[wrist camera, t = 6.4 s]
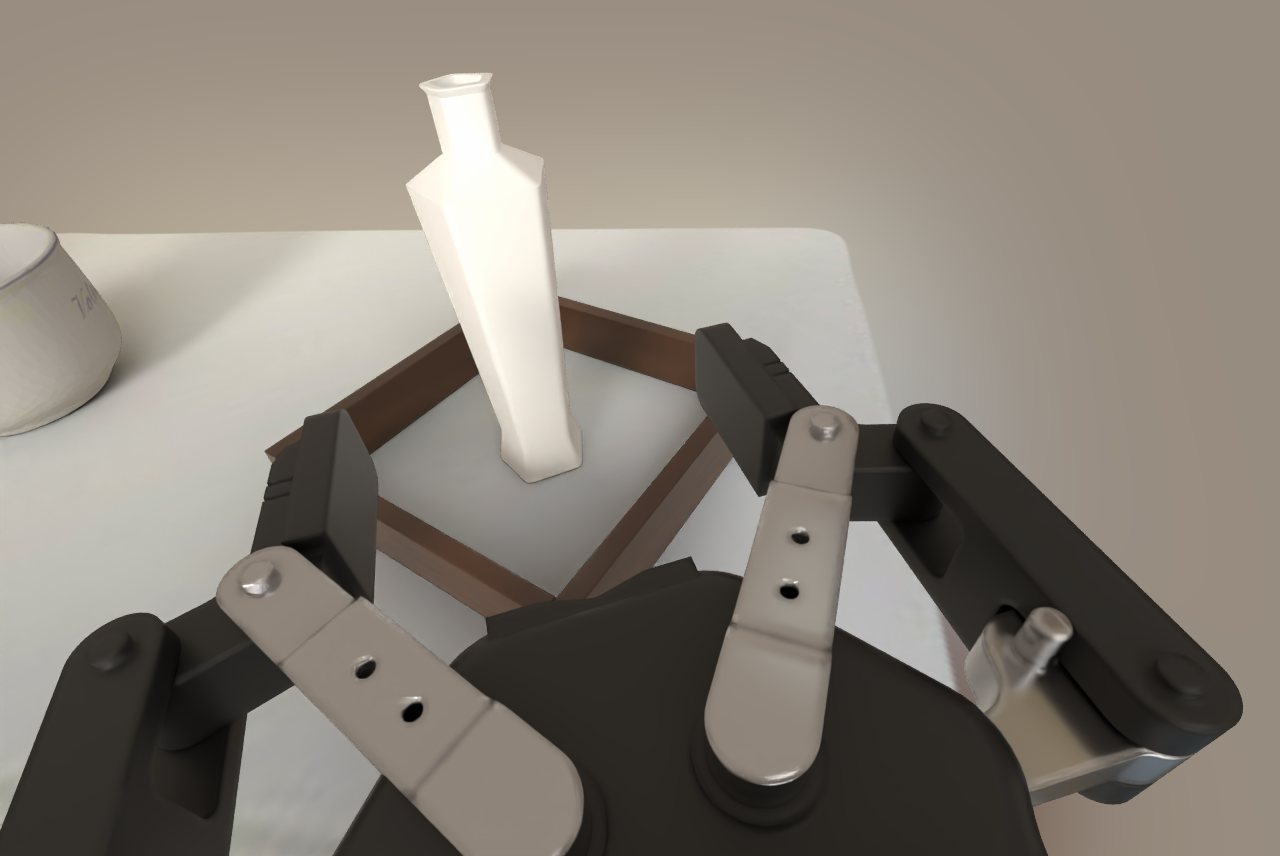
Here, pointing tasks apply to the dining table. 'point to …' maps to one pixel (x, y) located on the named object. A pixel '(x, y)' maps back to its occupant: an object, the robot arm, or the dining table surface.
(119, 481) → the dining table surface
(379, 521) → the walnut frame
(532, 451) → the perfume bottle
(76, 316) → the teacup
